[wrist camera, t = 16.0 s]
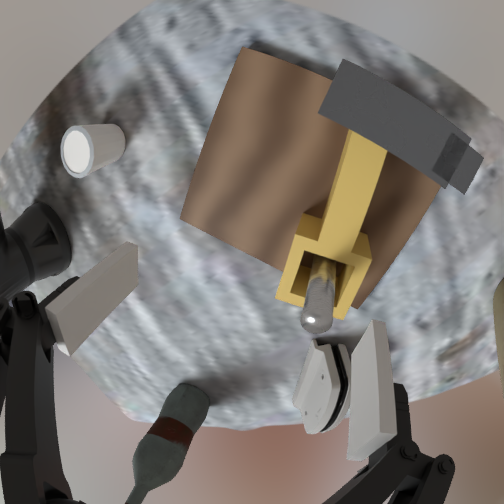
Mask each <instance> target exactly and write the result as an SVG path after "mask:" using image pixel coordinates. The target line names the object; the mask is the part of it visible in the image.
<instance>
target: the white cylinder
mask: <svg viewBox="0 0 504 504" xmlns="http://www.w3.org/2000/svg"><path fill="white" fill-rule="evenodd" d="M124 150H125V136H124V133H123V131H122V130H121V128H120V127H119V126H117V125H115V124H95V125H78V126H72V127H70V128H69V129H68V130H66V132H65V134H64V136H63V138H62V142H61V158H62V162H63V165H64V167H65V168H66V170H67V172H68V173H69V174H70V175H72V176H73V177H75V178H82V177H84V176H86V175H88V174H90V173H92V172H94V171H96V170H98V169H100V168H102V167H104V166H106V165H108V164H110V163H112V162H114V161H117V160H119V159H120V157H121V156H122V155H123V153H124Z"/></svg>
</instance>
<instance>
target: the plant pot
mask: <svg viewBox="0 0 504 504" xmlns="http://www.w3.org/2000/svg"><path fill="white" fill-rule="evenodd" d="M493 309H494V324H495V335H496V345H497V354H498V362H499V370H500V376H501V383H502V390H503V398H504V279H503V280H502V281H501V282H500V284H499V285H498V287H497V289H496V291H495V294H494V298H493Z"/></svg>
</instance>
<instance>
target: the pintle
mask: <svg viewBox="0 0 504 504" xmlns="http://www.w3.org/2000/svg"><path fill="white" fill-rule="evenodd" d="M336 262H337V261H336V260H333V259H330V258H327V257H324V256H321V255H318V254H314V259H313V264H312V269H311V273H310V278H309V283H308V288H307V292H306V297H305V302H304V306H303V311H302V315H301V320H300V321H301V325H302V327H303V328H304V329H305V330H306V331H308V332H311V333H315V334H319V333H324V332H326V331H328V330H329V329H330V328H331V326H332V321H333V309H334V296H335V281H336Z"/></svg>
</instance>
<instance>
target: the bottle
mask: <svg viewBox="0 0 504 504" xmlns="http://www.w3.org/2000/svg"><path fill="white" fill-rule="evenodd" d="M208 409H209V398H208V396H207V395H206V394H205V393H204V392H203V391H201V390H200V389H198V388H196V387H194V386H191V385H188V384H180V385H178V386H177V387H175V388H174V389H173V390H172V392H171V393H170V394H169V395H168V396H167V398H166V400H165V403H164V405H163V407H162V409H161V412H160V414H159V417H158V418H157V420H156V421H155V423H154V424H153V426H152V427H151V428H150V430H149V431H148V432H147V434H146V435H145V436H144V437H143V439H142V440H141V441H140V442H139V444H138V446H137V449H136V451H135V453H134V456H133V461H132V462H133V470H134V479H135V486H134V488H133V490H132V492H131V494H130V495H129V497H128V499H127V501H126V503H125V504H141V503H142V501H143V499H144V498H145V496H146V494H147V493H148V491H150V490H152V489H155V488H157V487H159V486H161V485H163V484H165V483H167V482H169V481H171V480H172V479H173V478H174V477H175V476H176V474H177V473H178V472H179V470H180V469H181V467H182V465H183V462H184V459H185V456H186V454H187V451H188V449H189V446H190V444H191V441H192V438H193V436H194V434H195V433H196V432H197V430H198V429H199V428H200V426H201V425H202V423H203V422H204V420H205V418H206V416H207V412H208Z"/></svg>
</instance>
